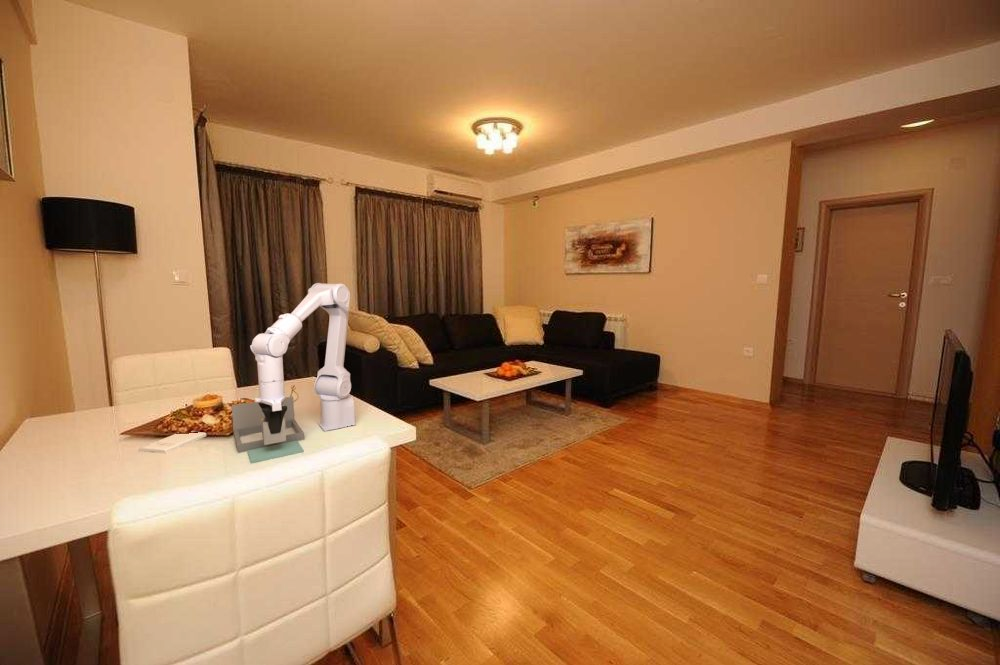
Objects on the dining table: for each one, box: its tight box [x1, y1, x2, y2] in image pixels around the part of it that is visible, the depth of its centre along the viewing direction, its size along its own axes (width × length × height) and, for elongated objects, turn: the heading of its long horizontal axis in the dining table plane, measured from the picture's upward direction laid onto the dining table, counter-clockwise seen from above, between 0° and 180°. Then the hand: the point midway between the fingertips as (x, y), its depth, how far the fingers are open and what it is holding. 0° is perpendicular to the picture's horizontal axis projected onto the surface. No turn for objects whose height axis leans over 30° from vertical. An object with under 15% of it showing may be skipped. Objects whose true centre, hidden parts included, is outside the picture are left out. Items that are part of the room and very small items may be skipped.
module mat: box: [246, 441, 304, 464], centre depth 109 cm, size 12×8×1 cm, turn 126°
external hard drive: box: [138, 431, 207, 455], centre depth 114 cm, size 2×8×12 cm
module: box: [261, 417, 287, 445], centre depth 108 cm, size 5×4×6 cm
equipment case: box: [231, 395, 305, 454], centre depth 118 cm, size 16×15×9 cm
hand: (274, 430), depth 108 cm, fingers closed on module, 4 cm apart
